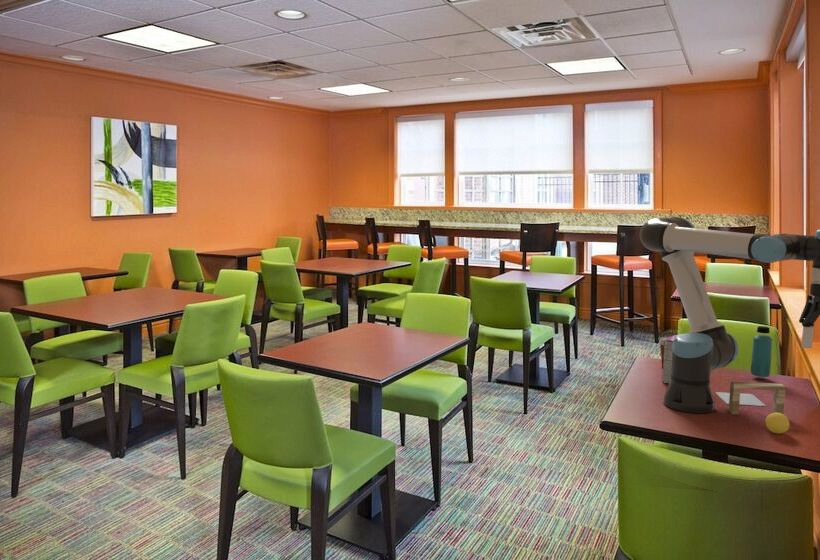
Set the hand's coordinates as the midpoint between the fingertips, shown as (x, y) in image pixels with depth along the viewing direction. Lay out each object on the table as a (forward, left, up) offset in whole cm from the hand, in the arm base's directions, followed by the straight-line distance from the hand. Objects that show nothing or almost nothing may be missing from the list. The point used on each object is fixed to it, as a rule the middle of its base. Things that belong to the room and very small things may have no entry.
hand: (818, 353), depth 180 cm
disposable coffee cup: (-27, +57, -22) cm, 67 cm away
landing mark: (-13, +22, -22) cm, 34 cm away
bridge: (-13, +8, -22) cm, 27 cm away
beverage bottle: (+3, +49, -22) cm, 54 cm away
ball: (-13, -8, -19) cm, 24 cm away
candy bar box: (-30, +40, -23) cm, 55 cm away
